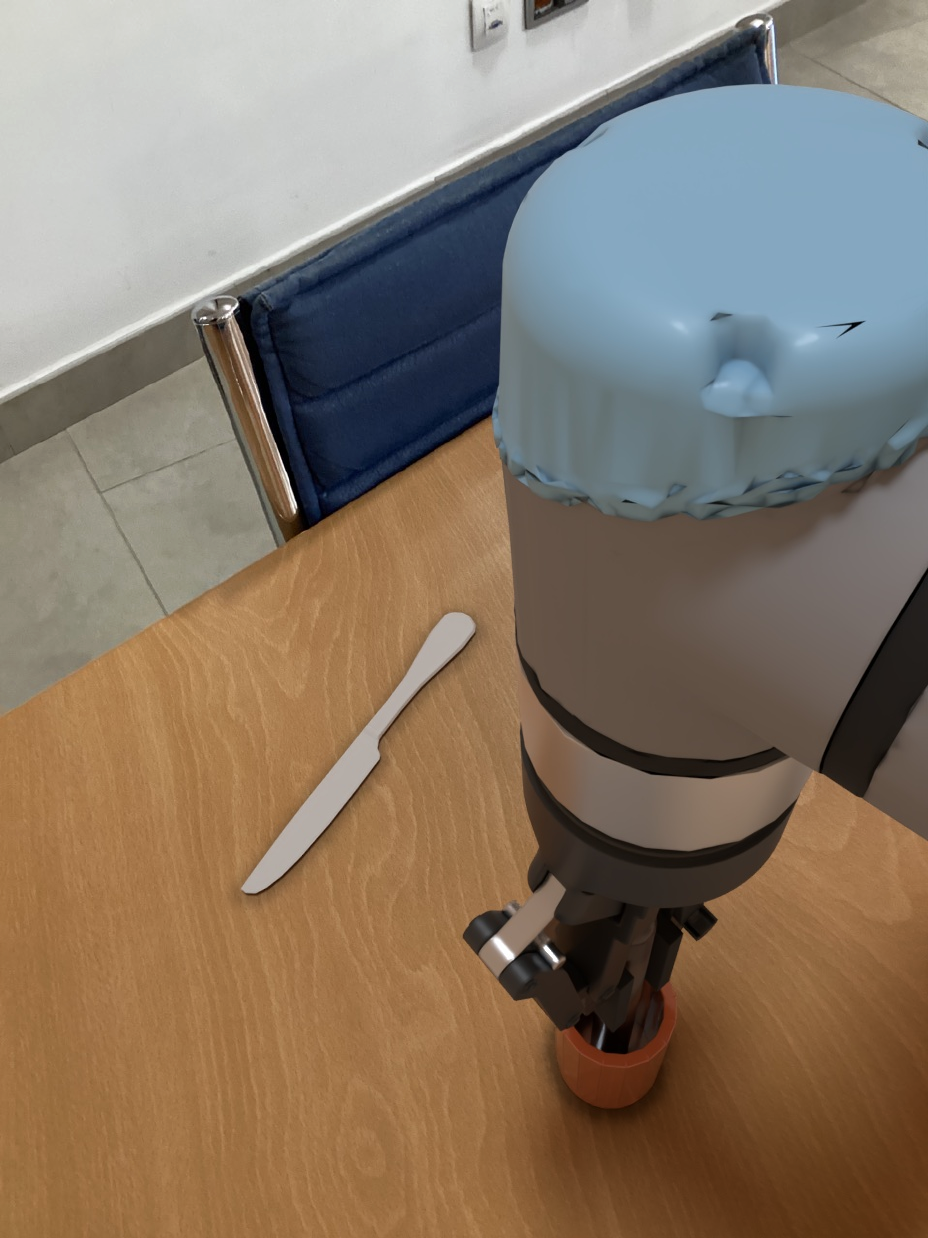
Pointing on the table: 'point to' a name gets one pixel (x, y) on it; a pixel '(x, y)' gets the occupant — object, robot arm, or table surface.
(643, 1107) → the table surface
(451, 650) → the butter knife
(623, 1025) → the stick
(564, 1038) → the holder
